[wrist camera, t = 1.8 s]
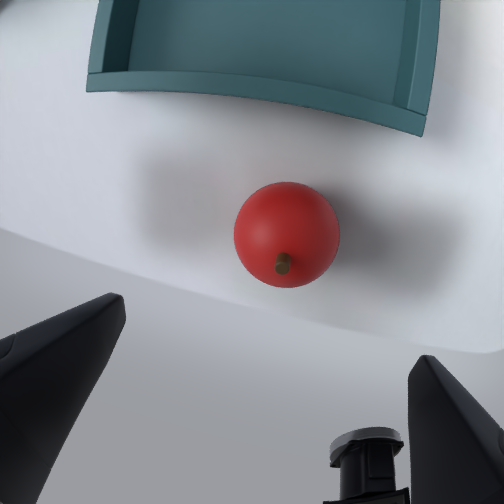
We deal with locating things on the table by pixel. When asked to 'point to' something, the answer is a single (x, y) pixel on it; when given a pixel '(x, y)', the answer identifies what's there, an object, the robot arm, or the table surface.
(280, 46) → the tray
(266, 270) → the apple
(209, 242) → the table surface
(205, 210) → the table surface
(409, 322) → the table surface
